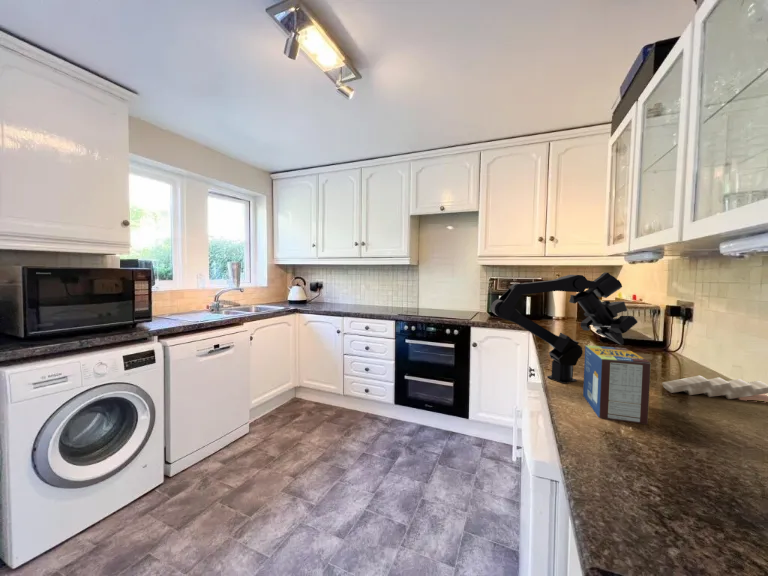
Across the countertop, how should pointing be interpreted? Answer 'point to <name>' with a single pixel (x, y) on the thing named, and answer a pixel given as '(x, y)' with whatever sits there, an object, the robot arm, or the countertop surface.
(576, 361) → the robot arm
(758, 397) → the domino
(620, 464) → the countertop surface
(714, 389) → the domino
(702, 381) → the domino
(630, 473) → the countertop surface
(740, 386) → the domino
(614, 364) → the protein box
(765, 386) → the domino
